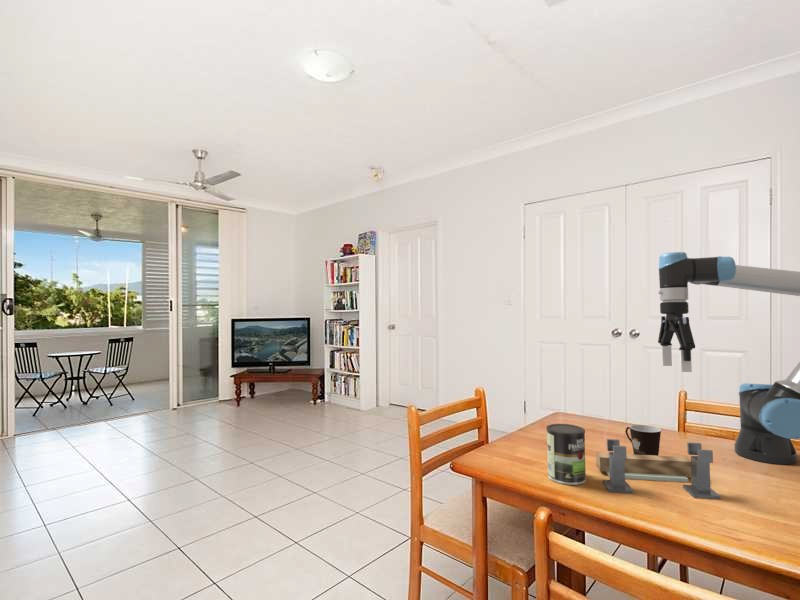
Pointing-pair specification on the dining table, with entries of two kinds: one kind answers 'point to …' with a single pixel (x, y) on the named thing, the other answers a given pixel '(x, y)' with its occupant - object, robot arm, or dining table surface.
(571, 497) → the dining table surface
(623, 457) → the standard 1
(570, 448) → the coffee can
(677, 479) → the mat
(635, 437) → the coffee mug
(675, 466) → the rail
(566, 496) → the dining table surface
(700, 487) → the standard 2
